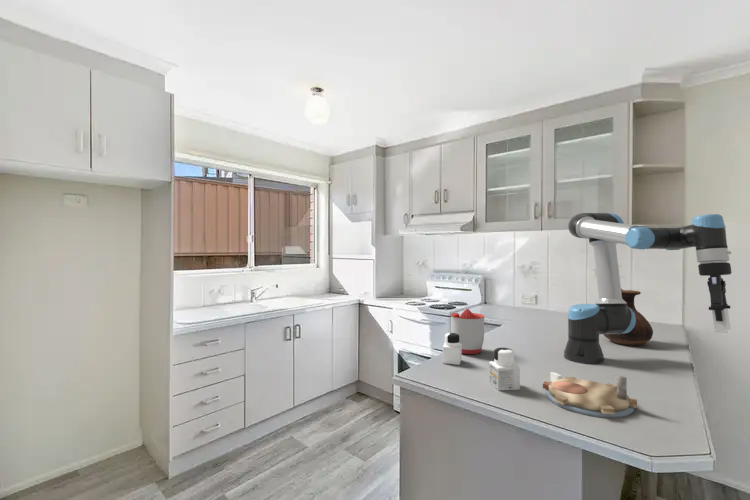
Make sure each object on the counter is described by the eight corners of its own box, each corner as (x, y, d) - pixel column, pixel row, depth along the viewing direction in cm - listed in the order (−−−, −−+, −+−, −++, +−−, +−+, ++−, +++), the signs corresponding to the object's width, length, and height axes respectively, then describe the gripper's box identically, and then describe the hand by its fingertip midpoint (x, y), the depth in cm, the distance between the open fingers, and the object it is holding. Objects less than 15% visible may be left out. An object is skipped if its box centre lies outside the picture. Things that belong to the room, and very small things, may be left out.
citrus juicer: (477, 345, 179) (477, 305, 179) (489, 356, 161) (489, 311, 161) (446, 346, 178) (446, 305, 178) (455, 356, 161) (454, 311, 161)
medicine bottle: (461, 360, 155) (461, 332, 155) (459, 365, 148) (459, 336, 148) (444, 358, 157) (444, 331, 157) (442, 363, 151) (442, 334, 151)
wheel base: (521, 382, 129) (521, 374, 129) (582, 378, 133) (582, 370, 133) (580, 420, 100) (580, 409, 100) (655, 414, 104) (655, 404, 104)
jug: (650, 340, 187) (650, 283, 187) (655, 350, 169) (655, 286, 169) (600, 335, 199) (600, 281, 199) (600, 344, 180) (600, 284, 180)
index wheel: (637, 393, 116) (637, 369, 116) (636, 421, 97) (636, 392, 97) (550, 377, 131) (550, 355, 131) (535, 398, 112) (535, 373, 112)
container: (489, 382, 129) (488, 346, 129) (509, 381, 130) (509, 345, 130) (498, 390, 121) (498, 352, 121) (520, 390, 122) (520, 351, 122)
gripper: (727, 259, 104) (738, 334, 101) (732, 263, 120) (741, 328, 118) (692, 261, 109) (702, 333, 106) (702, 265, 126) (710, 327, 123)
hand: (723, 330), depth 112 cm, fingers open, 13 cm apart
